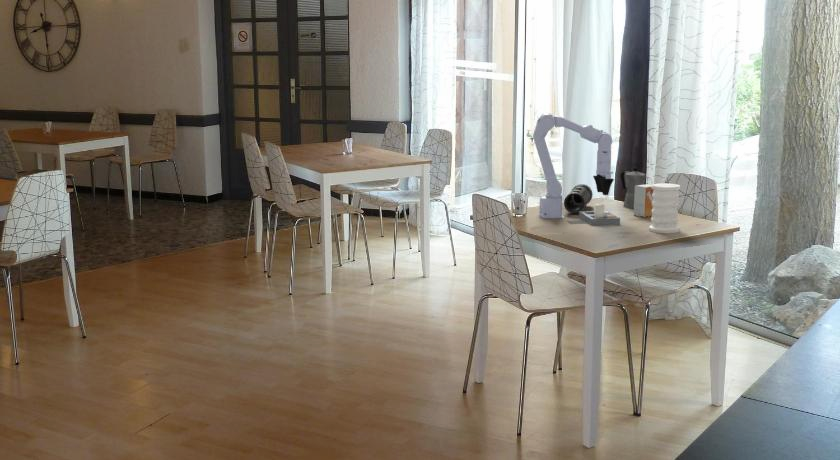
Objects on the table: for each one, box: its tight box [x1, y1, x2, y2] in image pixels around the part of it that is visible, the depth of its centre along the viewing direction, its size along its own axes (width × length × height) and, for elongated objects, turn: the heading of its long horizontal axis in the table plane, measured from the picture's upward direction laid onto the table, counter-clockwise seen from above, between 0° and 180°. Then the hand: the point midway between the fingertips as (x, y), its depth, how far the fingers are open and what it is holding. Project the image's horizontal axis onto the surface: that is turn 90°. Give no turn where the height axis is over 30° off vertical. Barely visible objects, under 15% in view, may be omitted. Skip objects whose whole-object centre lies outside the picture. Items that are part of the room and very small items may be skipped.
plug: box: [593, 203, 605, 218], centre depth 383 cm, size 4×4×8 cm
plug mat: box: [566, 219, 588, 225], centre depth 385 cm, size 7×7×1 cm
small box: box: [633, 183, 653, 218], centre depth 401 cm, size 8×6×13 cm
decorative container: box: [648, 182, 681, 234], centre depth 368 cm, size 12×12×18 cm
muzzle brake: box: [563, 183, 594, 215], centre depth 414 cm, size 10×28×10 cm, turn 163°
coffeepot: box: [619, 166, 648, 209], centre depth 423 cm, size 15×9×18 cm, turn 33°
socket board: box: [578, 210, 621, 226], centre depth 388 cm, size 12×18×3 cm, turn 6°
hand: (602, 193), depth 395 cm, fingers open, 7 cm apart
